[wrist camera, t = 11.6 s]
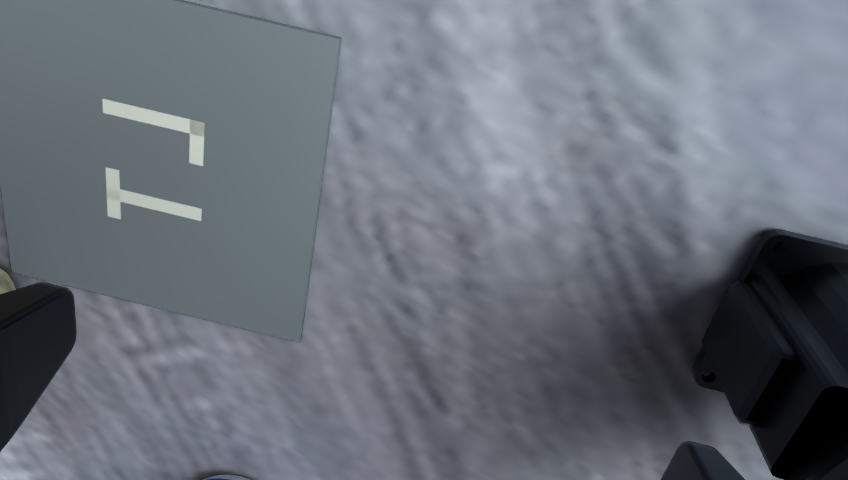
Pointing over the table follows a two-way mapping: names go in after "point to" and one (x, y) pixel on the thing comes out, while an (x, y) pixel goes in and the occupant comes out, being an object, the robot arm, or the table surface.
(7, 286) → the pastry
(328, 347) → the table surface
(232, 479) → the beverage can
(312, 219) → the mat
